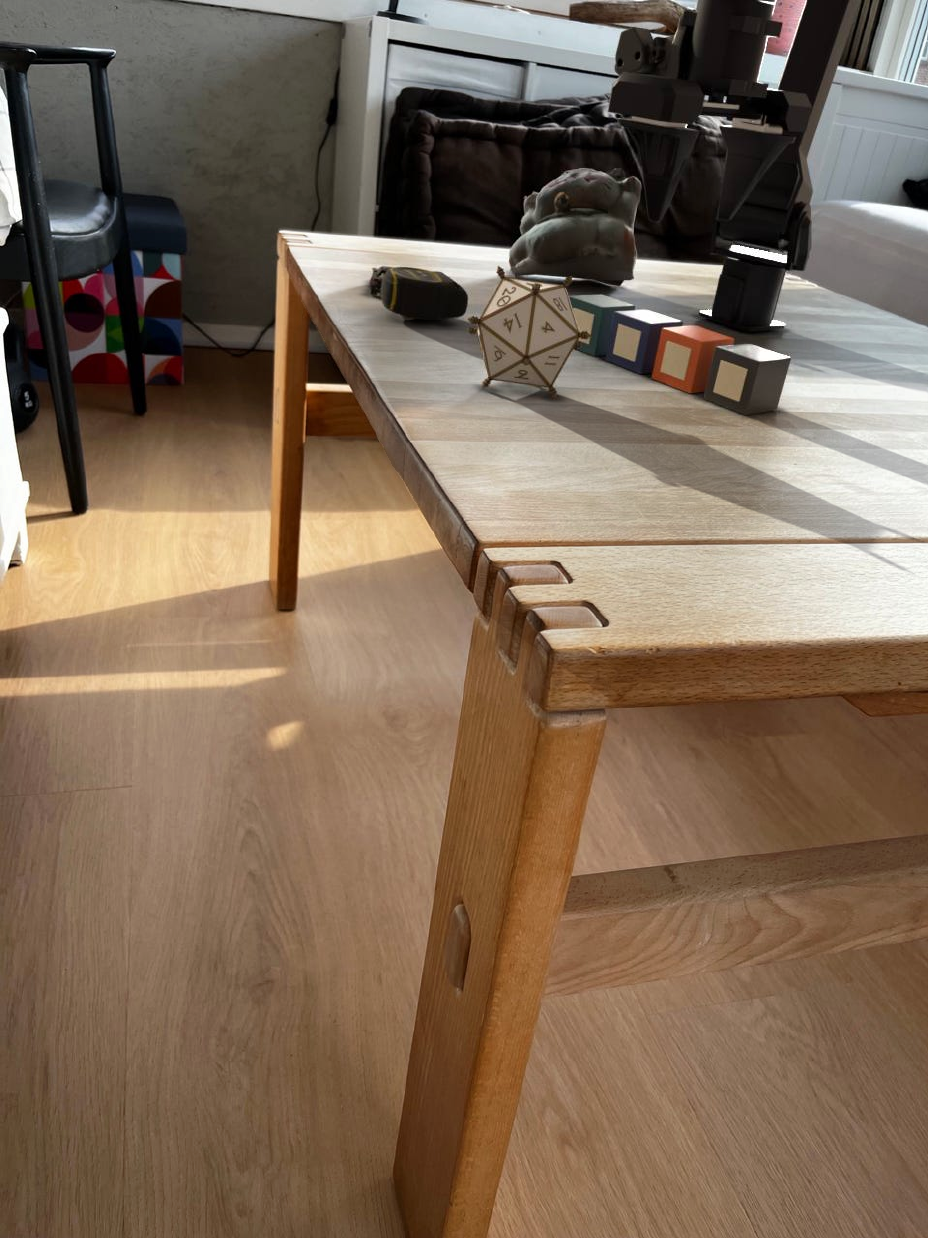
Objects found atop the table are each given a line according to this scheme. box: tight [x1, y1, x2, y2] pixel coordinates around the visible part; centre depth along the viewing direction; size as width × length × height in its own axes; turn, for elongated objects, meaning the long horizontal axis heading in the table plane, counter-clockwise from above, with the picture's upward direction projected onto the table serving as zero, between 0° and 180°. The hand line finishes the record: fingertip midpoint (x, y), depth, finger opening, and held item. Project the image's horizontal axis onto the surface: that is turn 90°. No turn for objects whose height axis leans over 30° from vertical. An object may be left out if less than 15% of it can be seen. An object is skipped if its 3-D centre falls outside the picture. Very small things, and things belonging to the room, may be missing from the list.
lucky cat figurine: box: [508, 167, 642, 287], centre depth 112 cm, size 15×12×14 cm
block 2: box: [604, 308, 684, 375], centre depth 83 cm, size 4×4×4 cm
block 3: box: [703, 343, 792, 416], centre depth 77 cm, size 4×4×4 cm
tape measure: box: [380, 266, 469, 321], centre depth 88 cm, size 7×7×4 cm
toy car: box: [369, 265, 395, 296], centre depth 97 cm, size 8×4×2 cm, turn 1°
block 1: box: [568, 293, 636, 357], centre depth 87 cm, size 4×4×4 cm
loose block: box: [651, 324, 735, 394], centre depth 80 cm, size 4×4×4 cm
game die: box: [466, 265, 591, 399], centre depth 72 cm, size 9×8×10 cm
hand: (690, 220), depth 84 cm, fingers open, 9 cm apart
